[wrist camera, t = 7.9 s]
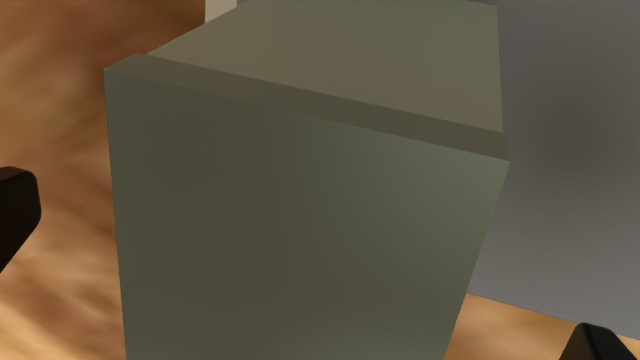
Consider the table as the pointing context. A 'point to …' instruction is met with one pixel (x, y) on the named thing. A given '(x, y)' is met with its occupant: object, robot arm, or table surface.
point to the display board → (564, 162)
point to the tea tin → (306, 179)
